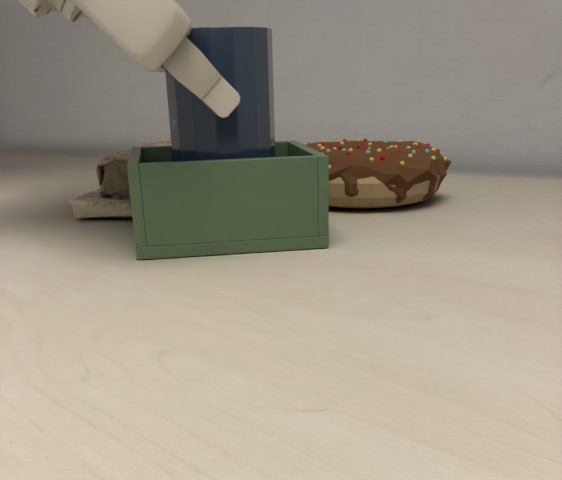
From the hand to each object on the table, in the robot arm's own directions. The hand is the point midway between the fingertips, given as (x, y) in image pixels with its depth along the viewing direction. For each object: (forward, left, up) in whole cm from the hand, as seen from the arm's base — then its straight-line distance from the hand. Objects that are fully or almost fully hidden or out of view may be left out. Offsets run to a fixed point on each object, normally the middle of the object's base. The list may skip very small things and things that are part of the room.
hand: (229, 106), depth 47 cm
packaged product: (-5, +16, -9) cm, 19 cm away
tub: (-1, 0, -9) cm, 9 cm away
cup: (-1, 0, -5) cm, 5 cm away
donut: (+13, +11, -9) cm, 19 cm away
